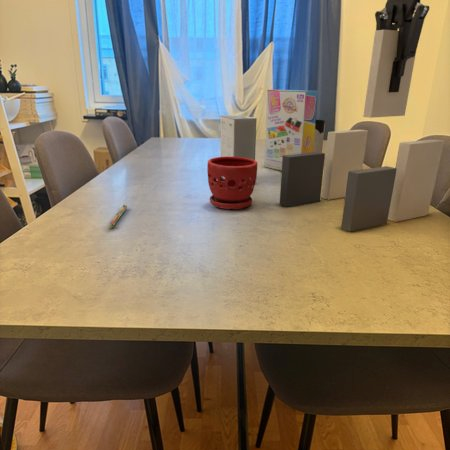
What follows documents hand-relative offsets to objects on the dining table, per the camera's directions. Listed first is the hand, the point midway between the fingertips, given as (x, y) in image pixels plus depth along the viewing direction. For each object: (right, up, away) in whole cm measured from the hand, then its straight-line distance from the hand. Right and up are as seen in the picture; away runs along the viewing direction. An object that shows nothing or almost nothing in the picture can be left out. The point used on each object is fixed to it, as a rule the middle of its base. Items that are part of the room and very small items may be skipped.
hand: (388, 91), depth 105 cm
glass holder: (0, +12, +83) cm, 84 cm away
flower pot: (-38, -25, +13) cm, 47 cm away
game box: (-17, -2, +57) cm, 59 cm away
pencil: (-66, -31, +2) cm, 73 cm away
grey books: (-13, -28, +6) cm, 32 cm away
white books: (0, -25, +13) cm, 28 cm away
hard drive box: (-36, -10, +42) cm, 56 cm away
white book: (0, -5, +3) cm, 6 cm away
